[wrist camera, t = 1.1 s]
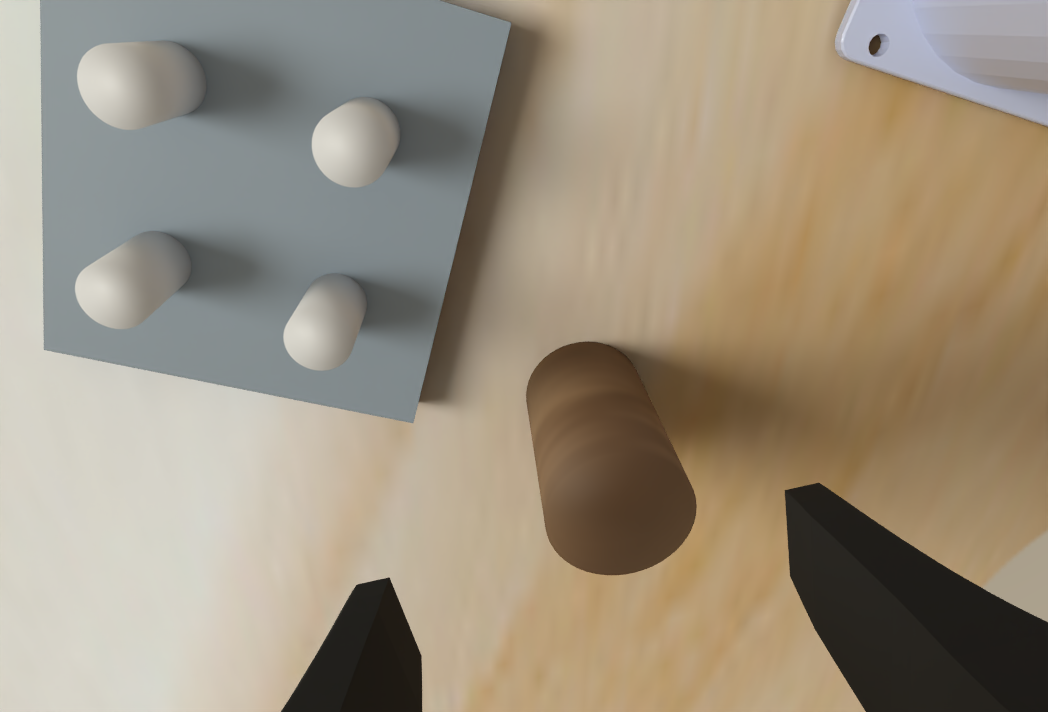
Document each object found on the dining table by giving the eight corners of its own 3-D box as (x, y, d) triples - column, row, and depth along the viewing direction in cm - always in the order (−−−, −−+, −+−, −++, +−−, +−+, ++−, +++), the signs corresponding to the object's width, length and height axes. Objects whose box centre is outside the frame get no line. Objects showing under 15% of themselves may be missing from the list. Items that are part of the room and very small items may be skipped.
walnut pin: (656, 356, 21) (720, 469, 16) (618, 451, 23) (664, 585, 17) (545, 330, 21) (571, 439, 15) (513, 430, 22) (527, 562, 17)
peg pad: (508, 22, 17) (518, 23, 14) (415, 402, 21) (406, 472, 18) (69, -114, 15) (-43, -153, 12) (67, 332, 20) (-15, 395, 16)
